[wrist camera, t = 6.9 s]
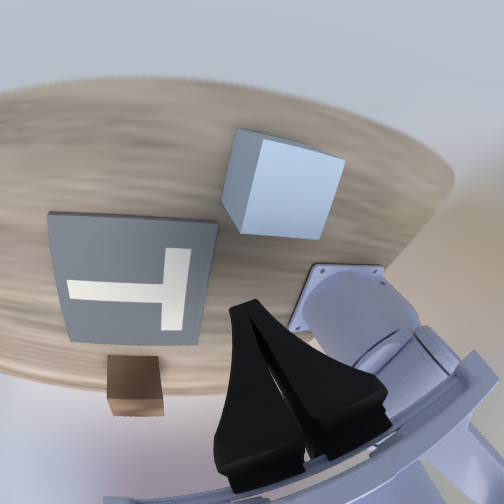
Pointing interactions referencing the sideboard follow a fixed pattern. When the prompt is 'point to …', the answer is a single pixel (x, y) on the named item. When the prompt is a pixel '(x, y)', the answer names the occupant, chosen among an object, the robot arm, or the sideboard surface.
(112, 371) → the walnut block
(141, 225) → the letter card
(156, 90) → the sideboard surface
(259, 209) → the blue cube
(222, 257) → the sideboard surface
